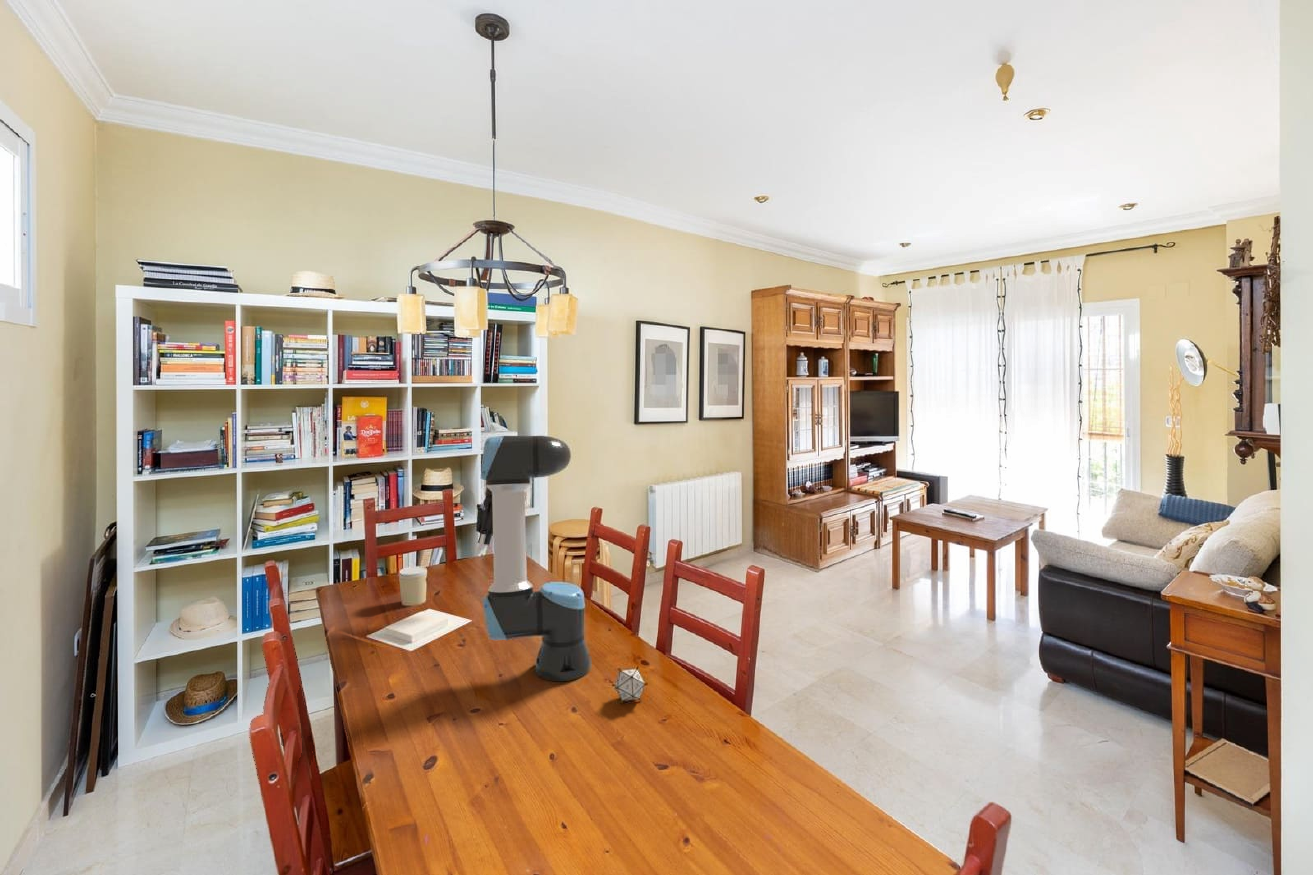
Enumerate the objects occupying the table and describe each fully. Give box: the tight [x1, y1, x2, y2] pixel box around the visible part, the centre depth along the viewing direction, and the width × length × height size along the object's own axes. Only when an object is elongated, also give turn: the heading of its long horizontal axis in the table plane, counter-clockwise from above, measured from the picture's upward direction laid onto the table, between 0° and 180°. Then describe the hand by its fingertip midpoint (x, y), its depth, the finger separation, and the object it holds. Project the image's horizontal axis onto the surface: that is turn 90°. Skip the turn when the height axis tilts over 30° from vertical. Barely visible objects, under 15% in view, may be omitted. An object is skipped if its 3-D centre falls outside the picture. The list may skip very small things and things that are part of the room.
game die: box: [611, 665, 649, 704], centre depth 142 cm, size 9×8×10 cm
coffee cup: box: [398, 565, 428, 607], centre depth 201 cm, size 9×9×12 cm
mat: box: [365, 608, 473, 652], centre depth 180 cm, size 20×24×1 cm
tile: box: [384, 610, 449, 642], centre depth 179 cm, size 12×2×14 cm
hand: (480, 554), depth 192 cm, fingers closed
